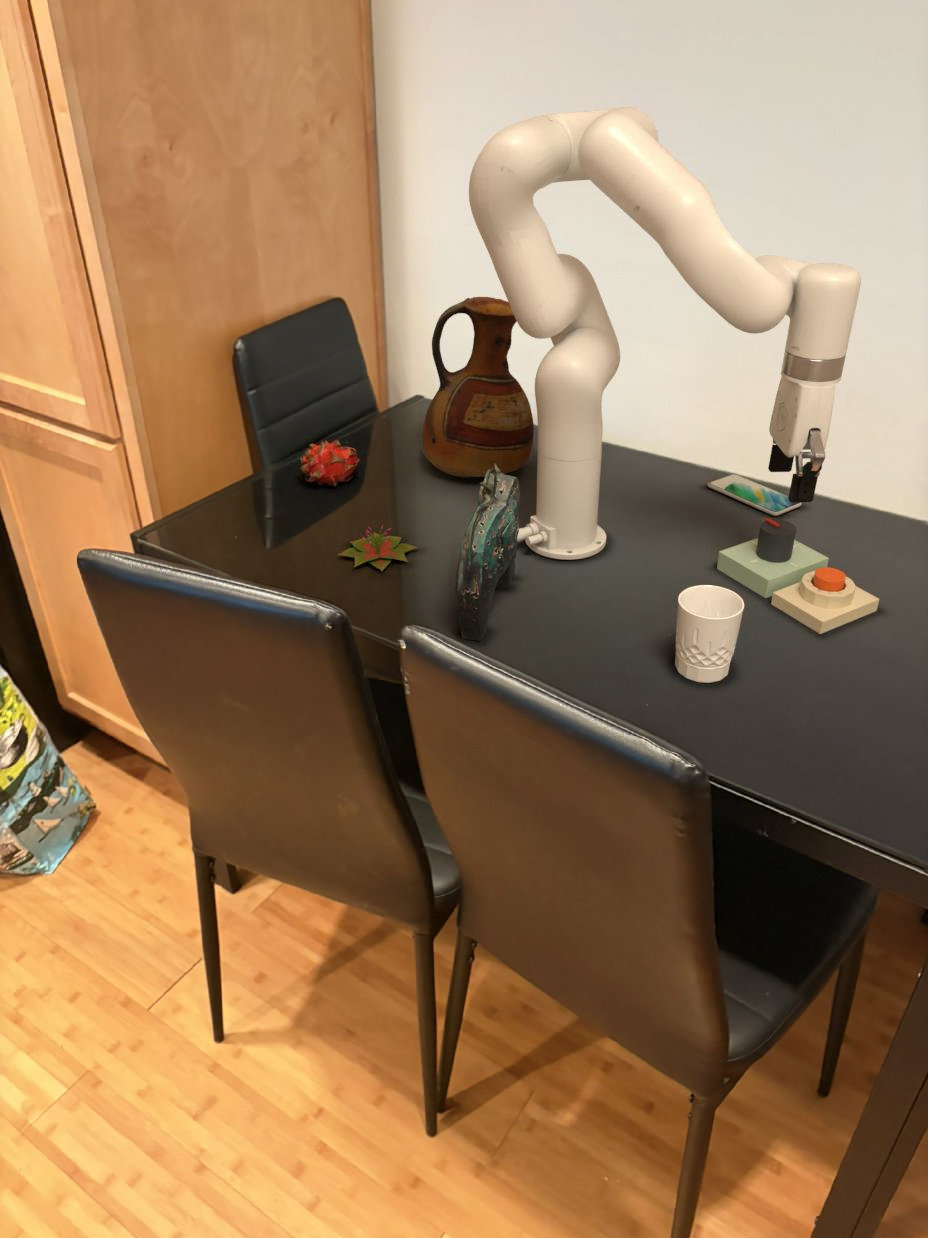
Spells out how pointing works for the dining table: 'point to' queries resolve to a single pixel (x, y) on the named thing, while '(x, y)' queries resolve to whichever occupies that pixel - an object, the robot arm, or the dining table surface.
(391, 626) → the dining table surface
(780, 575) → the panel
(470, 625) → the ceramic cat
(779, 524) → the program dial
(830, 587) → the button
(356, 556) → the lily flower
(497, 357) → the ceramic pitcher
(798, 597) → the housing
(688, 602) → the white cup
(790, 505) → the smartphone
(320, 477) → the dragon fruit
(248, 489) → the dining table surface
